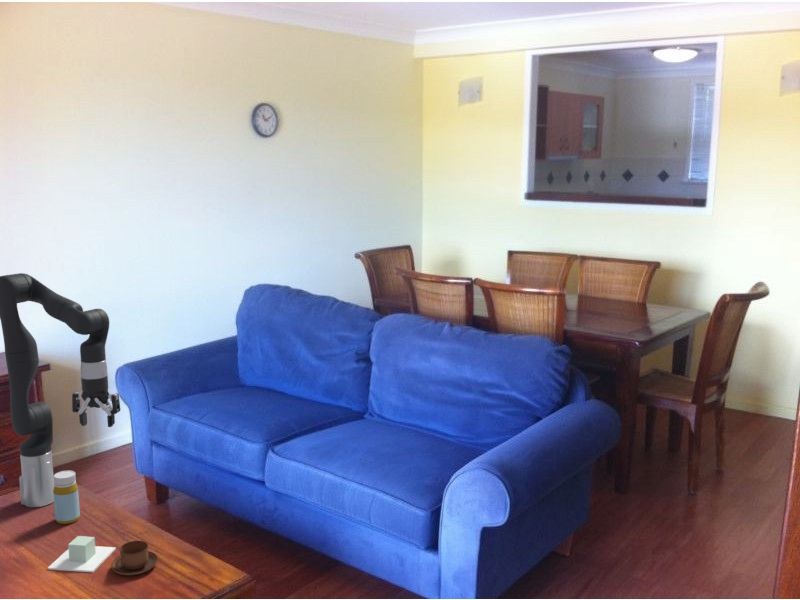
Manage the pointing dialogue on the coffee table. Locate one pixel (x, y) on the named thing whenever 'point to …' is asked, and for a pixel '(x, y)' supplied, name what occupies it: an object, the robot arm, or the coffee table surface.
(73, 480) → the bottle
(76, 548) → the sage cube
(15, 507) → the coffee table surface
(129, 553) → the cup and saucer
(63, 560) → the mat
